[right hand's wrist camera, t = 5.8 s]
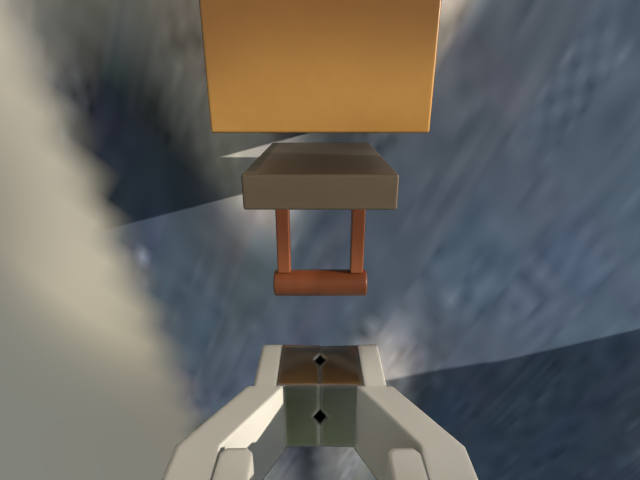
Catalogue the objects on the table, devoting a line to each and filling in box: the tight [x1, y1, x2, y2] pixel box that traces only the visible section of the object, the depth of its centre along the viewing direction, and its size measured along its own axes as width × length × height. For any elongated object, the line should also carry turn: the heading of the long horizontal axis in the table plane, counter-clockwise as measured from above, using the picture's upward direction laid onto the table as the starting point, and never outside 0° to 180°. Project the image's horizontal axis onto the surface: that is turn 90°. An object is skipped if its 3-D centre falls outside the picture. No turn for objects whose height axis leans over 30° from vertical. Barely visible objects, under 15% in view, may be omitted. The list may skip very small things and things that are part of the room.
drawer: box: [241, 143, 399, 296], centre depth 15 cm, size 22×5×9 cm, turn 0°
